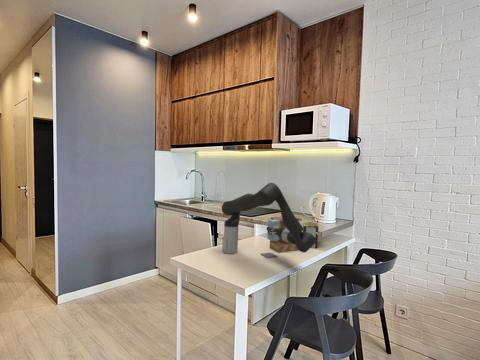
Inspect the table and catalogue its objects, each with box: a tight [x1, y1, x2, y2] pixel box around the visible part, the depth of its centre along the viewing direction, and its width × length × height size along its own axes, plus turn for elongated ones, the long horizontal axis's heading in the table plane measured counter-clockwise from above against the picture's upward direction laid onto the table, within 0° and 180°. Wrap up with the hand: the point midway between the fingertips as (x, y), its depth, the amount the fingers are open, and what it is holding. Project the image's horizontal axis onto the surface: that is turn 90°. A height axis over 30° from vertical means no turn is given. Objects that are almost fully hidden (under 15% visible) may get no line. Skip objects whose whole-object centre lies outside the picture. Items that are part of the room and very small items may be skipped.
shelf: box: [269, 216, 303, 254], centre depth 191 cm, size 18×11×22 cm, turn 116°
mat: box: [260, 251, 278, 259], centre depth 177 cm, size 8×8×1 cm
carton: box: [267, 219, 280, 241], centre depth 172 cm, size 5×5×12 cm
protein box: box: [302, 221, 319, 249], centre depth 205 cm, size 10×15×16 cm
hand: (271, 228), depth 175 cm, fingers closed on carton, 5 cm apart
